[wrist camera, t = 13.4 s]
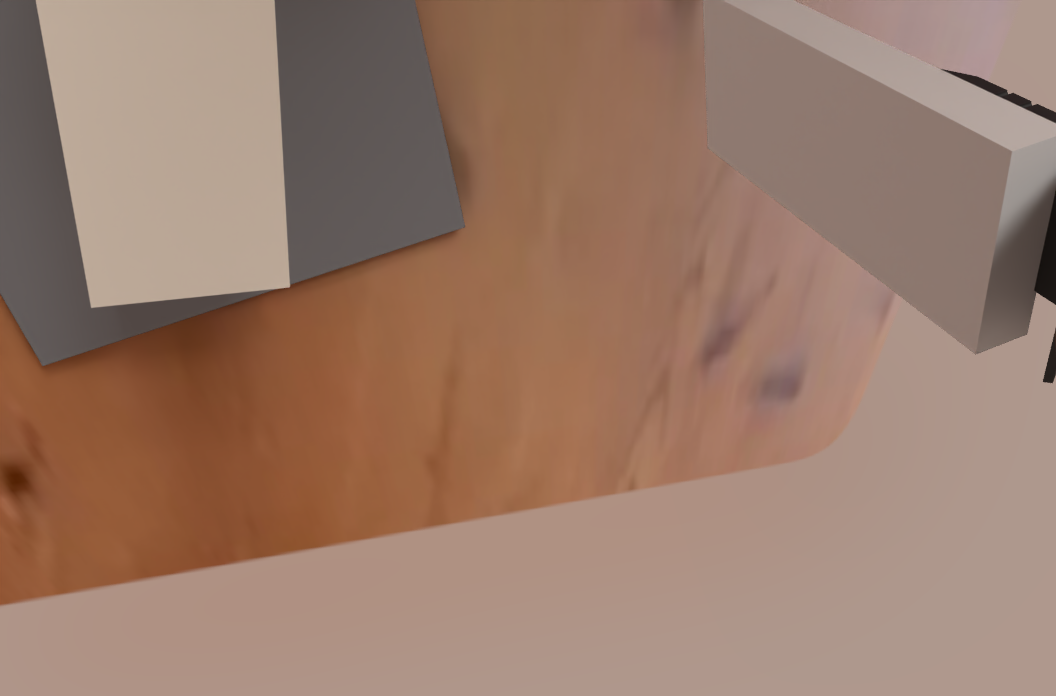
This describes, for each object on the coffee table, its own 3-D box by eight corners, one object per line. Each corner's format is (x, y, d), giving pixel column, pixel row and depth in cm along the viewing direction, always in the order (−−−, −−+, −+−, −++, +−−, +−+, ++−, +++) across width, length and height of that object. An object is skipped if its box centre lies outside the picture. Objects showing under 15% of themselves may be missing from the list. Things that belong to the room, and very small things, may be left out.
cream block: (89, 201, 36) (91, 307, 30) (14, -239, 28) (-4, -220, 22) (255, 190, 38) (289, 287, 32) (226, -224, 31) (263, -202, 24)
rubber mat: (-382, -376, 25) (-393, -378, 24) (300, -489, 28) (305, -493, 28) (43, 355, 39) (42, 366, 39) (459, 219, 43) (465, 226, 42)
